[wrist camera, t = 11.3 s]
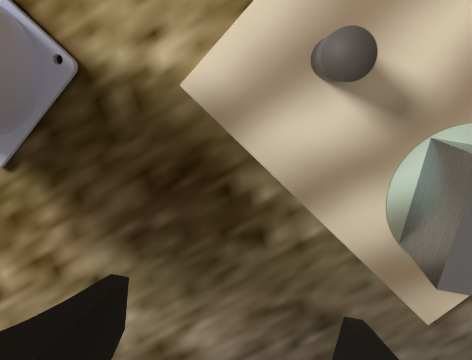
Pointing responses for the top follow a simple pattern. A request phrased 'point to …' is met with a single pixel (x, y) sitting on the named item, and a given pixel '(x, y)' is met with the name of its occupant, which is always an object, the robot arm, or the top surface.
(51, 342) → the robot arm
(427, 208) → the steel collar
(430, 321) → the board
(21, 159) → the top surface
